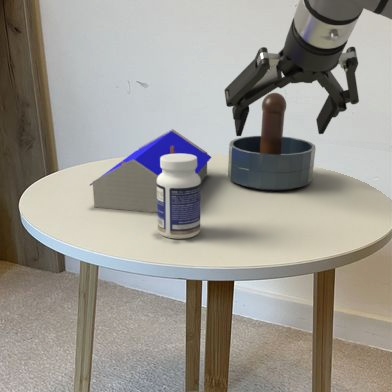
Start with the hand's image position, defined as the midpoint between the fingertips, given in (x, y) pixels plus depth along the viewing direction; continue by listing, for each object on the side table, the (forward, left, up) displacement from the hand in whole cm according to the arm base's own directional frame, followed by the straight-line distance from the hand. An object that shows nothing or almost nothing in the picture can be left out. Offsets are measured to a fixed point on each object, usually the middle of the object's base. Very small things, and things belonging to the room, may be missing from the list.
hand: (279, 127), depth 96 cm
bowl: (0, -2, -9) cm, 9 cm away
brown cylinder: (0, -4, -9) cm, 9 cm away
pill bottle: (+19, +21, -9) cm, 30 cm away
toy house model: (+20, +1, -9) cm, 22 cm away
